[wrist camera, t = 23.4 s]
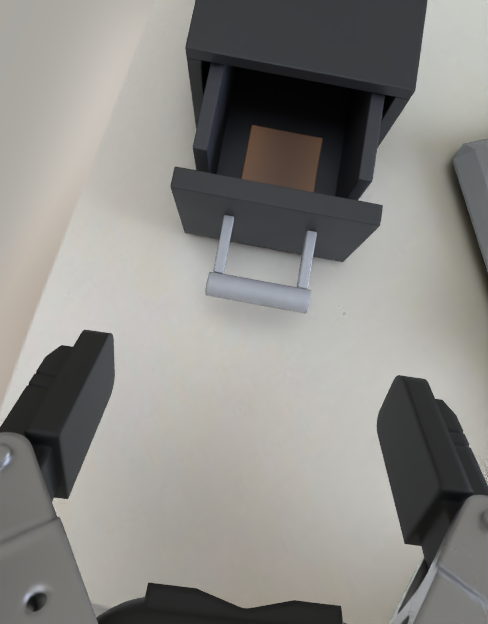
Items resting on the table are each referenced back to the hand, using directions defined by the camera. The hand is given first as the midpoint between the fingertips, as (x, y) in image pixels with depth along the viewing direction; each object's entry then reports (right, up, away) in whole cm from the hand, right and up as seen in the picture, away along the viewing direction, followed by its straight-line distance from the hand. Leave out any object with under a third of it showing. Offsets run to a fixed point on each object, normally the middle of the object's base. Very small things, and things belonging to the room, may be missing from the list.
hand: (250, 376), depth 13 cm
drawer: (+2, +11, +19) cm, 22 cm away
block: (+2, +10, +18) cm, 21 cm away
